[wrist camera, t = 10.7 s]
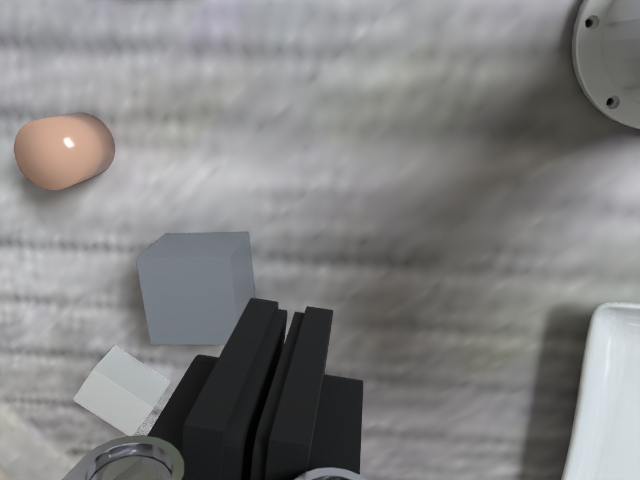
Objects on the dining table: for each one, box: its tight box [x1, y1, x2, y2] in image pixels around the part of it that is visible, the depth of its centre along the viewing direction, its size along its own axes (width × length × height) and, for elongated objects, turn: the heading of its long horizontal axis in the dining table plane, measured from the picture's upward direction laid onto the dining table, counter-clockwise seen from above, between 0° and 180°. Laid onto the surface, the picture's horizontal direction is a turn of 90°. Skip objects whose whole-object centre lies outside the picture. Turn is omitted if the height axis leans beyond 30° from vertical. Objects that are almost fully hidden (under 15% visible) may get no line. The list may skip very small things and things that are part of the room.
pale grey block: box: [73, 345, 170, 436], centre depth 47 cm, size 6×4×4 cm, turn 54°
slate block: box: [136, 232, 256, 345], centre depth 42 cm, size 7×7×6 cm
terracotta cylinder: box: [14, 113, 115, 190], centre depth 40 cm, size 5×5×5 cm
